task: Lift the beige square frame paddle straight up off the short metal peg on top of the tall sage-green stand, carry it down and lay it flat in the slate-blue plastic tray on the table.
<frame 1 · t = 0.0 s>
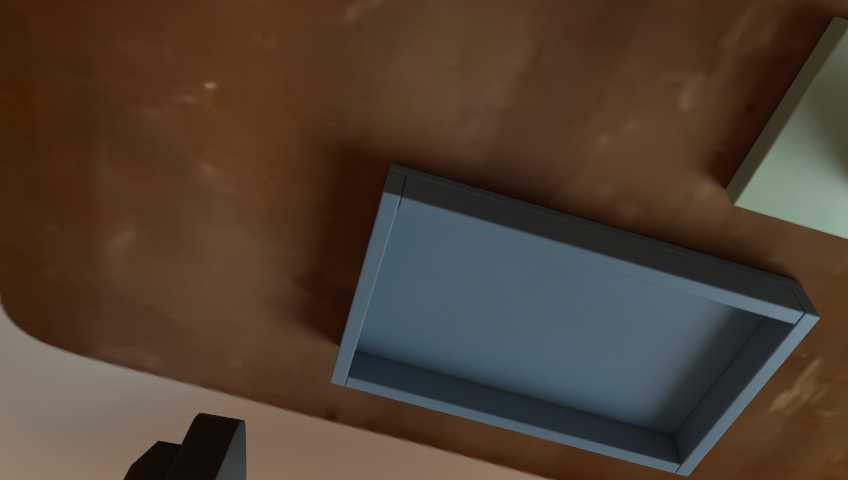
tray: (551, 316, 26), on the table
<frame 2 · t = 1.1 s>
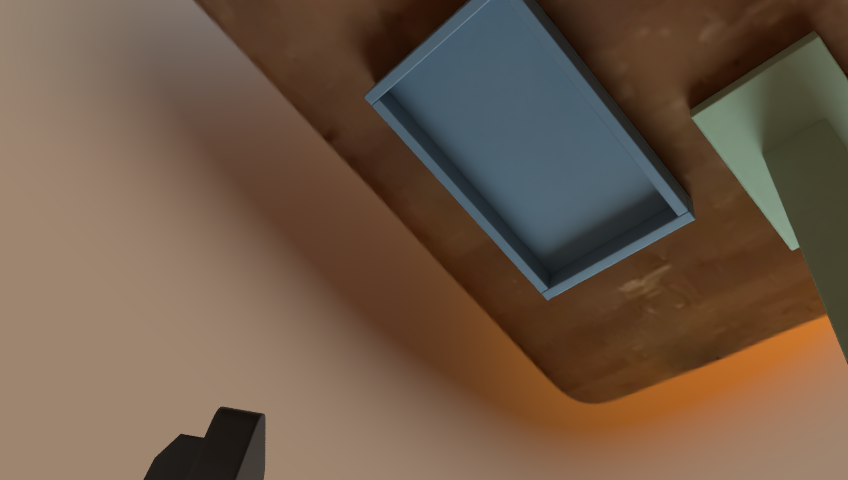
tray: (531, 141, 35), on the table
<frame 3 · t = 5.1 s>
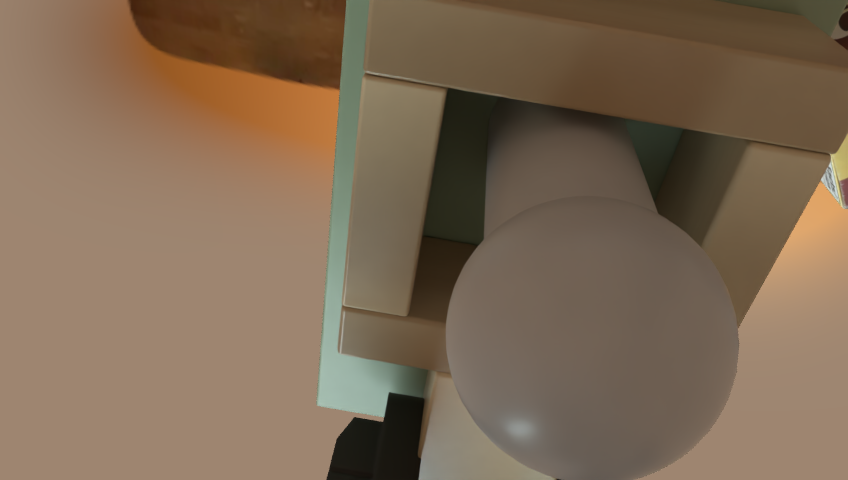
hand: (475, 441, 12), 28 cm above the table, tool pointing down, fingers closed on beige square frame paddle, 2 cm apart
stand: (513, 235, 11), on the table
beige square frame paddle: (550, 161, 9), point 27 cm above the table, touching gripper, stand
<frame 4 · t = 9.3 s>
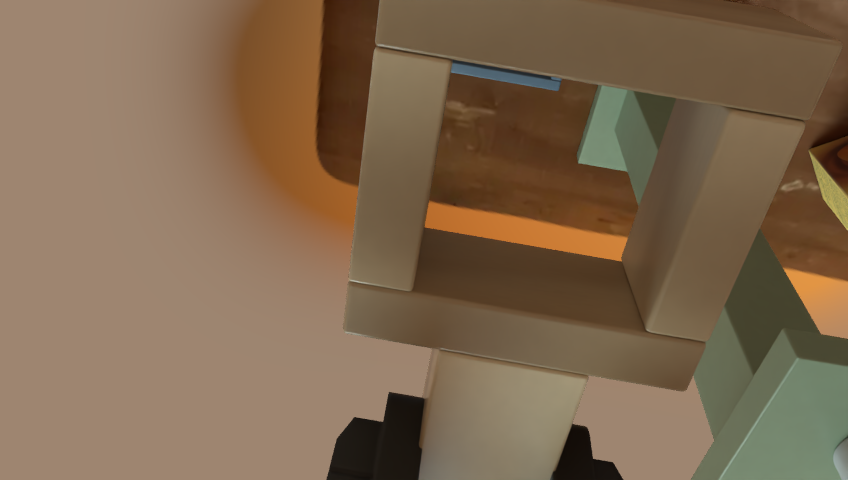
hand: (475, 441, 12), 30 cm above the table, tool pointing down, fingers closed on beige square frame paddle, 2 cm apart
stand: (808, 479, 18), on the table
beige square frame paddle: (545, 151, 10), point 29 cm above the table, tilted 5°, touching gripper
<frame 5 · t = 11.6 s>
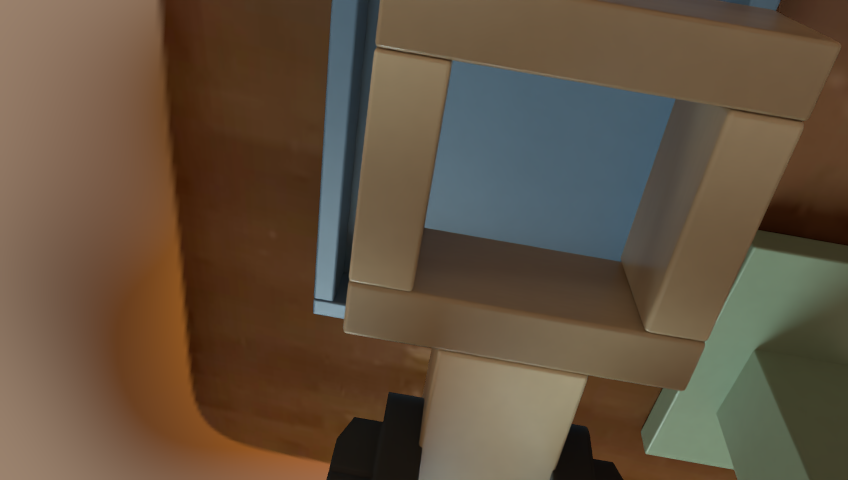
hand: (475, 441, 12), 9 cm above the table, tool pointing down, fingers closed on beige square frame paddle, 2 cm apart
beige square frame paddle: (544, 151, 10), point 7 cm above the table, tilted 6°, touching gripper
tray: (522, 72, 17), on the table
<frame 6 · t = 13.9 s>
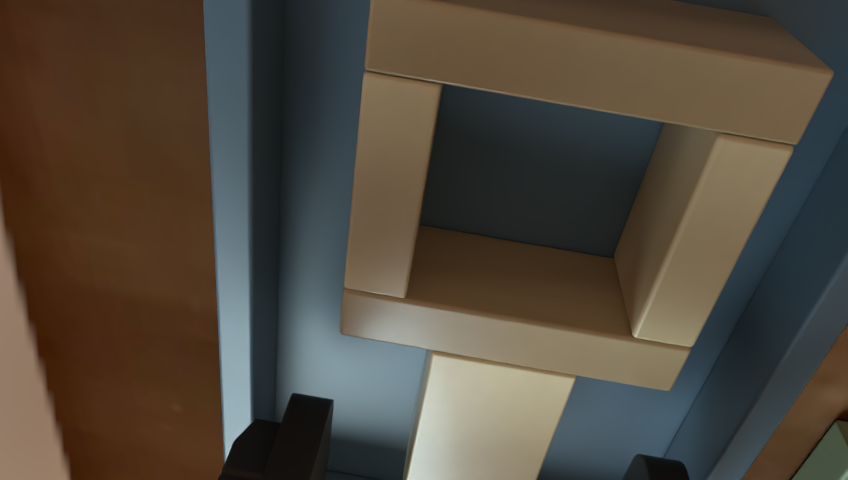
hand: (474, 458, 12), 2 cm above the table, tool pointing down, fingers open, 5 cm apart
beige square frame paddle: (539, 154, 10), resting on tray
tray: (520, 220, 11), on the table
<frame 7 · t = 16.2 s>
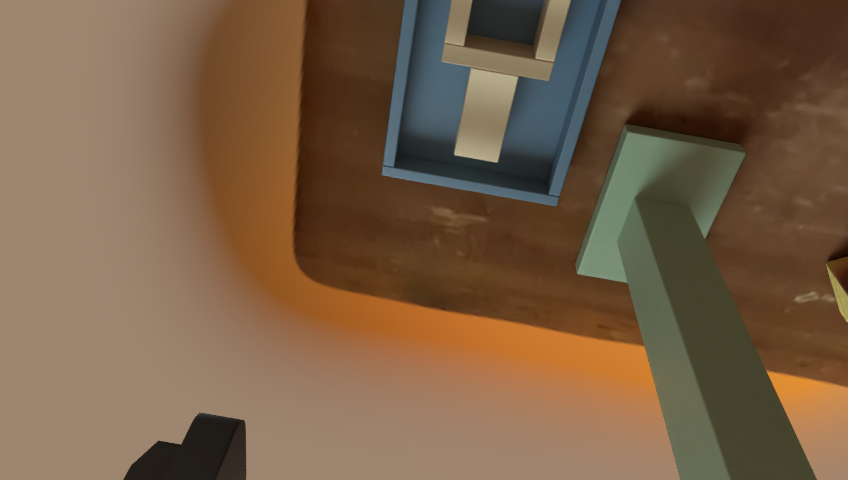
beige square frame paddle: (506, 4, 31), resting on tray
tray: (500, 34, 32), on the table
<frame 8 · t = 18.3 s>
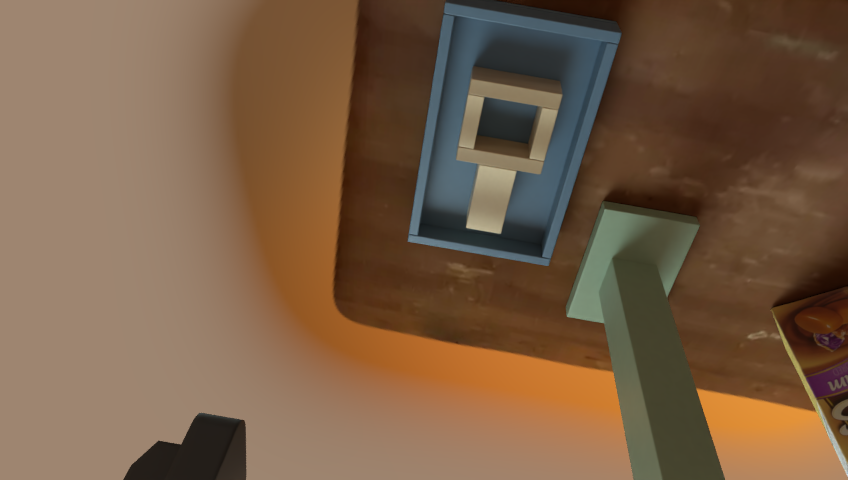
candy box: (842, 303, 45), on the table
beige square frame paddle: (507, 114, 39), resting on tray
tray: (502, 134, 40), on the table
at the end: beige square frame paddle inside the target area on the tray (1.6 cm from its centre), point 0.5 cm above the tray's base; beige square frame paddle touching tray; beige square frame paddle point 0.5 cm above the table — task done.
